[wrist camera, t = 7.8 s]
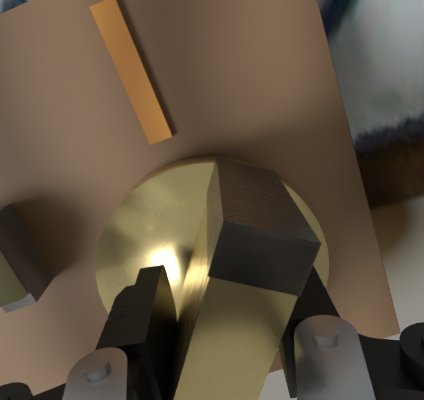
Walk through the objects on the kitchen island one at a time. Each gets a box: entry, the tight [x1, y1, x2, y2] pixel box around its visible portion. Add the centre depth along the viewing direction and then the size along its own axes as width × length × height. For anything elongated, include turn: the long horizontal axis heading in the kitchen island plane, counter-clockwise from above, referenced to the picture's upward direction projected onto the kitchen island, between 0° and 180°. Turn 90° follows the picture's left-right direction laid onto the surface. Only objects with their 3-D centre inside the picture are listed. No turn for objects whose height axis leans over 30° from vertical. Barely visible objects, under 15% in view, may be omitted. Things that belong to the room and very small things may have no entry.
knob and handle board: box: [0, 0, 400, 396], centre depth 14 cm, size 22×16×5 cm
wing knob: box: [95, 156, 329, 400], centre depth 11 cm, size 8×8×6 cm
